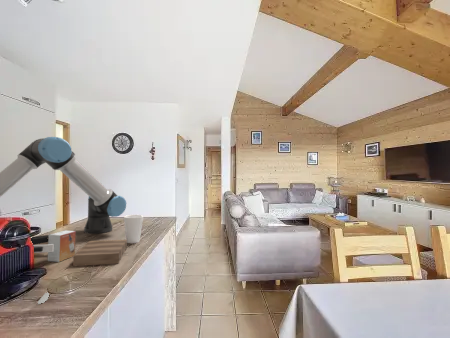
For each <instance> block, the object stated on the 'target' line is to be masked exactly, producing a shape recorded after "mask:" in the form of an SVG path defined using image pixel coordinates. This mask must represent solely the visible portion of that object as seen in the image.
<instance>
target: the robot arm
mask: <svg viewBox="0 0 450 338" xmlns="http://www.w3.org/2000/svg"><path fill="white" fill-rule="evenodd" d="M45 164H47V165H48V166H49V167H50V168H52V170H54V171H60V172H61V173H62V174H64V175H65V177H67V178H68V179H69V180H70V181H72V183H74V184H75V185H76V186H77V187H78V188H79V189H80V190H81V191H83V192H84V193H85V194H87V196H88V198H87V220H86V223H85V224H84V225H85V226H84V229H83V232H84V233H85V234H91V235H93V234H104V233H109V232H111V231H113V224H112V222H111V218H110V217H112V218H114V217H115V218H116V217H119V216H122V215H123V213H124V212H125V211H126V209H127V200H126V199H125V198H124V197H123V196H121V195H118V194H117V193H116V192H115V191H113V190H112V189H111V188H106V187H105V186H104V185H103V184H102V183H101V182H100V181H99V180H98V179H97V178H96V177H95V176H94V175H92V173H91V172H90V171H89V170H87V169H86V168H85V167H84V166H83V165H82V163H80V162H79V161H78V160H77V159H76V153H75V152H74V151H72V147H71V145H70V143H69V142H68V141H67V139H64V138H62V137H58V136H47V137H44V138H38V139H35V140H34V141H32V142H31V143H30V144H28V145H27V146H26V147H25V148H24V149H23V150H22V151H21V152H20V153H18V154H17V158H16V159H15V160H14V161H12V162H11V163H10V164H9V165H7V166H6V167H5V168H4V169H3V170H1V171H0V198H1V197H3V195H5V194H6V193H7V192H8V191H9V190H10V189H11V188H13V187H14V186H15V185H16V184H18V182H20V181H21V180H22V179H23V178H24V177H26V175H28V174H29V173H30V172H31V171H32V170H37V169H38V168H39V167H41V166H42V165H45ZM50 234H51V233H49V234H45V235H36V236H31V237H32V238H31V241H32V243H33V245H32V247H33V246H34V253H33V254H37V253H38V254H39V253H48V252H53V251H54V244H48V238H49V235H50ZM45 243H47V244H45Z"/></svg>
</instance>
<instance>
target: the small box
mask: <svg viewBox="0 0 450 338" xmlns="http://www.w3.org/2000/svg"><path fill="white" fill-rule="evenodd" d="M49 234H50V235H49ZM49 234H48V235H49V238H48V242H47V245H48V244H54V251H53V252H47V261H48V262H56V263H60V262H63V261H65V260H67V259H70V258H72V257H73V255H75V254H76V236H77V234H76V230H66V229H65V230H62V231H57V232H55V233H49Z"/></svg>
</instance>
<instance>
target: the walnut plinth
mask: <svg viewBox="0 0 450 338" xmlns="http://www.w3.org/2000/svg"><path fill="white" fill-rule="evenodd" d="M127 247H128V243H127V240H126V239H108V240H107V239H105V240H104V239H103V240H102V239H101V240H89V241H88V242H87V243H86V244H84V245H83V247H81V248H80V249H79V250H78V251H77V252H75V255H73V261H72V263H73V265H72V266H73V267H81V266H98V265H111V264H112V265H113V264H120V261H121V260H122V258H123V257H124V254H125V252H126V251H127Z"/></svg>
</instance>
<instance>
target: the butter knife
mask: <svg viewBox="0 0 450 338" xmlns="http://www.w3.org/2000/svg"><path fill="white" fill-rule="evenodd" d="M46 292H47V291H46ZM46 292H45V293H43V296H41V297H40V299H39V300H38V301H37V302H38V304H37V305H42V304H41V303H43V304H45V301H46V302H47V301H48V299H49V298H50V297H49V293H48V292H47V293H46ZM48 297H49V298H48Z"/></svg>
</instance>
